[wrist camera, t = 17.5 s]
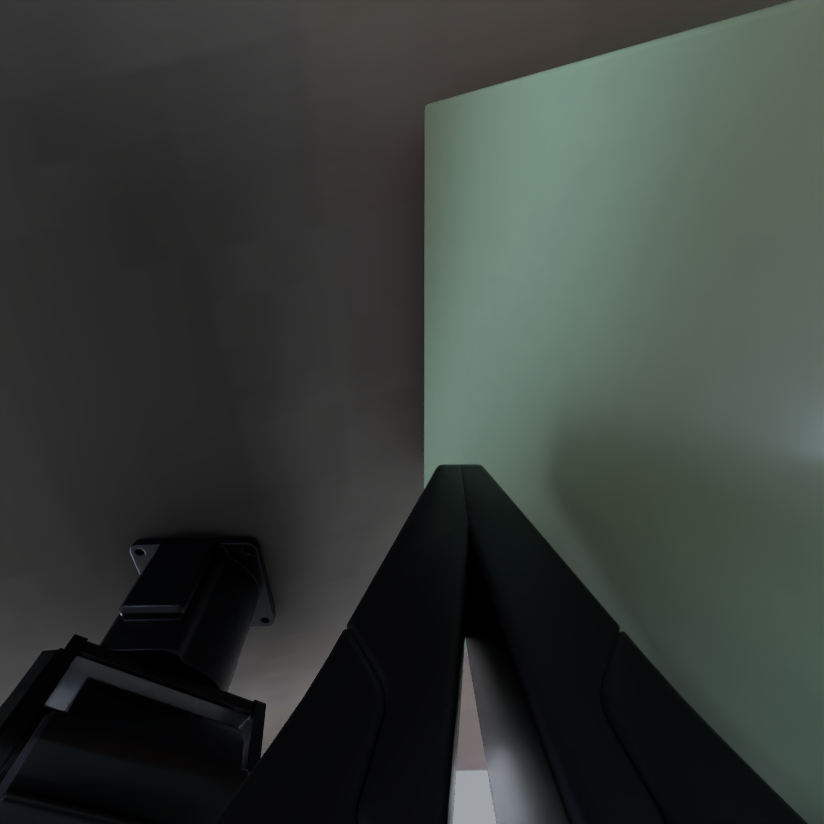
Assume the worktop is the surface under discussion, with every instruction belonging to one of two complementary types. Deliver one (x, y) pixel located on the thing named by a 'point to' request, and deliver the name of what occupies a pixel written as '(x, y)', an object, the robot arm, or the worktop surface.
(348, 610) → the worktop surface
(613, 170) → the lid
